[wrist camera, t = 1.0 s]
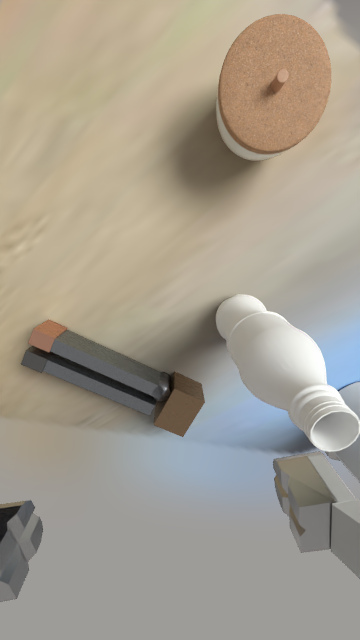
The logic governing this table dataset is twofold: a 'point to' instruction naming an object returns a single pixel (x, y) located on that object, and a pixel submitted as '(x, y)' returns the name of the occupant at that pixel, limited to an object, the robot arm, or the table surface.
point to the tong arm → (100, 359)
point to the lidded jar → (272, 87)
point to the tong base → (126, 390)
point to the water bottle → (286, 371)
